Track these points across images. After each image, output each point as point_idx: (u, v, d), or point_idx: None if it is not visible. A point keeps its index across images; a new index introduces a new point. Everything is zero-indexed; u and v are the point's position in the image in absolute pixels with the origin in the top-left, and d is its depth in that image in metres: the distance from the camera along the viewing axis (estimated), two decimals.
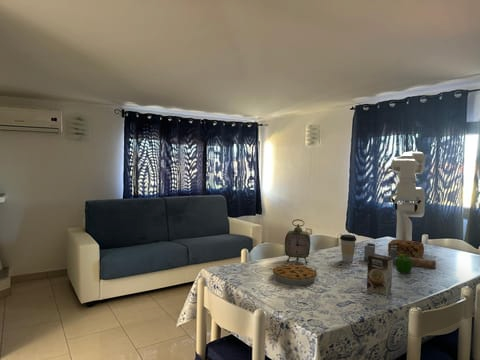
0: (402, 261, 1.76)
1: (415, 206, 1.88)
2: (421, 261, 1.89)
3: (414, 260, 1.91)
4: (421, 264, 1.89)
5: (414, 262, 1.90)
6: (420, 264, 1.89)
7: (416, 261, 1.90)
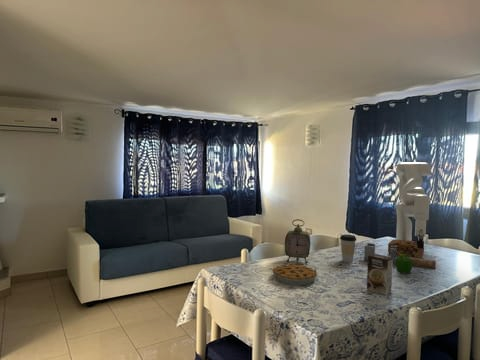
0: (402, 261, 1.76)
1: None
2: (421, 261, 1.89)
3: (414, 260, 1.91)
4: (421, 264, 1.89)
5: (414, 262, 1.90)
6: (420, 264, 1.89)
7: (416, 261, 1.90)
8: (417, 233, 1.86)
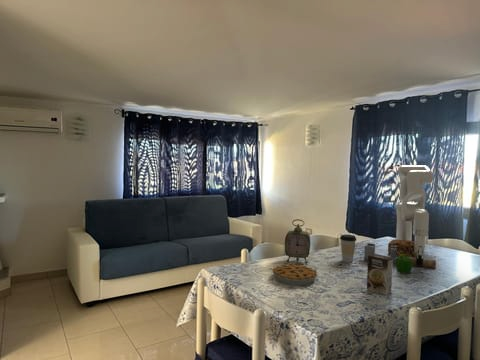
0: (402, 261, 1.76)
1: None
2: None
3: (414, 260, 1.90)
4: None
5: (414, 262, 1.90)
6: None
7: None
8: (416, 249, 1.87)
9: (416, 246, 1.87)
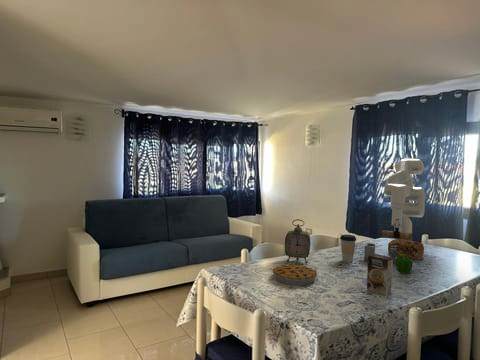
0: (402, 261, 1.76)
1: (399, 231, 1.97)
2: None
3: (392, 233, 1.95)
4: None
5: (392, 235, 1.95)
6: None
7: (393, 234, 1.95)
8: (393, 222, 1.92)
9: (393, 219, 1.92)
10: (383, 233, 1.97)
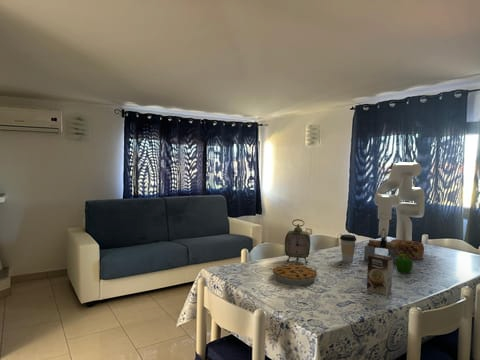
0: (402, 261, 1.75)
1: None
2: None
3: (378, 242, 1.98)
4: None
5: (378, 244, 1.98)
6: None
7: None
8: (380, 232, 1.95)
9: (380, 229, 1.95)
10: (370, 242, 2.00)
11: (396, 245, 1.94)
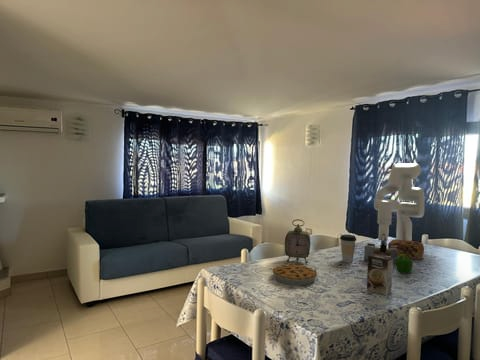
0: (402, 261, 1.76)
1: (386, 244, 2.02)
2: None
3: (378, 249, 1.99)
4: (385, 253, 1.97)
5: (378, 251, 1.99)
6: (384, 253, 1.97)
7: None
8: (380, 237, 1.95)
9: (379, 234, 1.95)
10: None
11: (396, 252, 1.94)
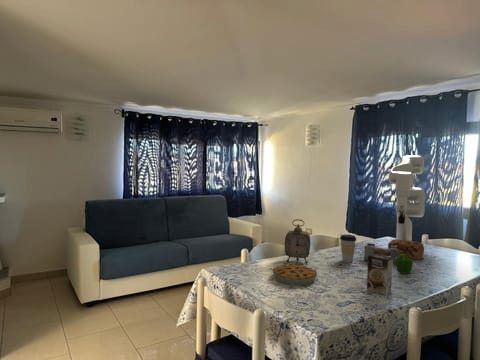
0: (402, 261, 1.76)
1: (405, 215, 2.03)
2: (385, 250, 1.97)
3: (378, 250, 1.99)
4: (385, 253, 1.97)
5: (378, 252, 1.98)
6: (384, 253, 1.97)
7: (380, 251, 1.98)
8: (398, 209, 1.96)
9: (398, 206, 1.96)
10: None
11: (396, 252, 1.94)
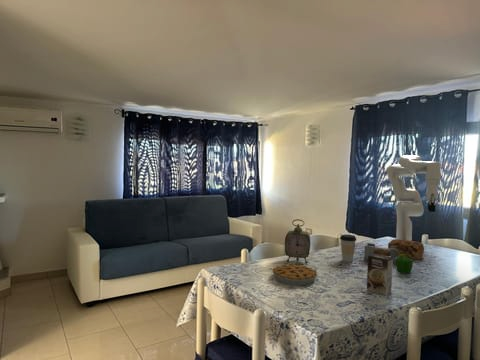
0: (402, 261, 1.76)
1: None
2: (385, 250, 1.97)
3: (378, 249, 1.99)
4: (385, 253, 1.97)
5: (378, 251, 1.98)
6: (384, 253, 1.97)
7: (380, 250, 1.98)
8: (429, 197, 1.97)
9: (428, 194, 1.97)
10: None
11: (396, 252, 1.94)
